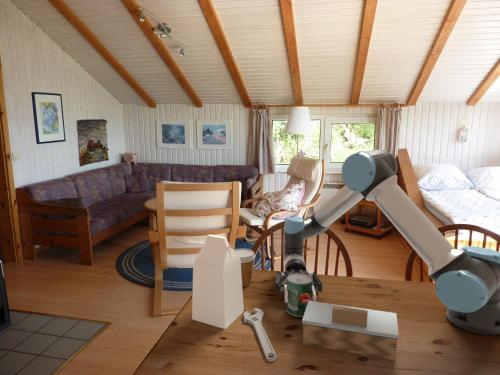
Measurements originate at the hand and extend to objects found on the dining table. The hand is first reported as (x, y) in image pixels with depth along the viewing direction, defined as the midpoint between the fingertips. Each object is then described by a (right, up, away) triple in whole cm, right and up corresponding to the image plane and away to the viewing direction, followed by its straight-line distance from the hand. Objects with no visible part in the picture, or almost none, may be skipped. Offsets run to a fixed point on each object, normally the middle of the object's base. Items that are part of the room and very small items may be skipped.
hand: (300, 298), depth 116 cm
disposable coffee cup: (-18, -2, +27) cm, 33 cm away
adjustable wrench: (-13, -9, -5) cm, 17 cm away
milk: (-25, -7, +5) cm, 27 cm away
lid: (+12, -3, -10) cm, 16 cm away
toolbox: (+12, -9, -8) cm, 18 cm away
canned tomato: (0, -6, +6) cm, 8 cm away
